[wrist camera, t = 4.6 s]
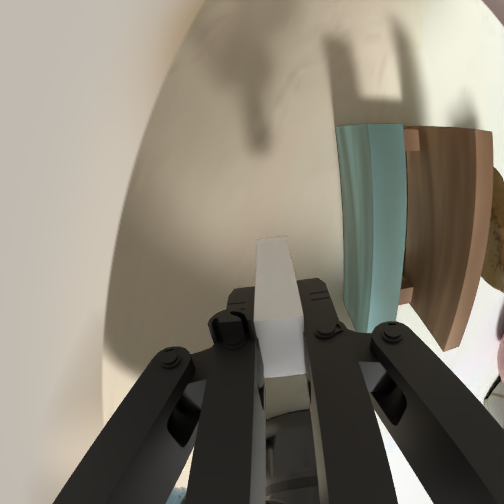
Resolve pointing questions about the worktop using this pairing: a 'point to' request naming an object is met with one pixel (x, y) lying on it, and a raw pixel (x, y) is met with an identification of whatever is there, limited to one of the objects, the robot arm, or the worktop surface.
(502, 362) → the mortar and pestle
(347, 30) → the worktop surface
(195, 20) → the worktop surface
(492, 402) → the planter
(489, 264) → the rock
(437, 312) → the frame
